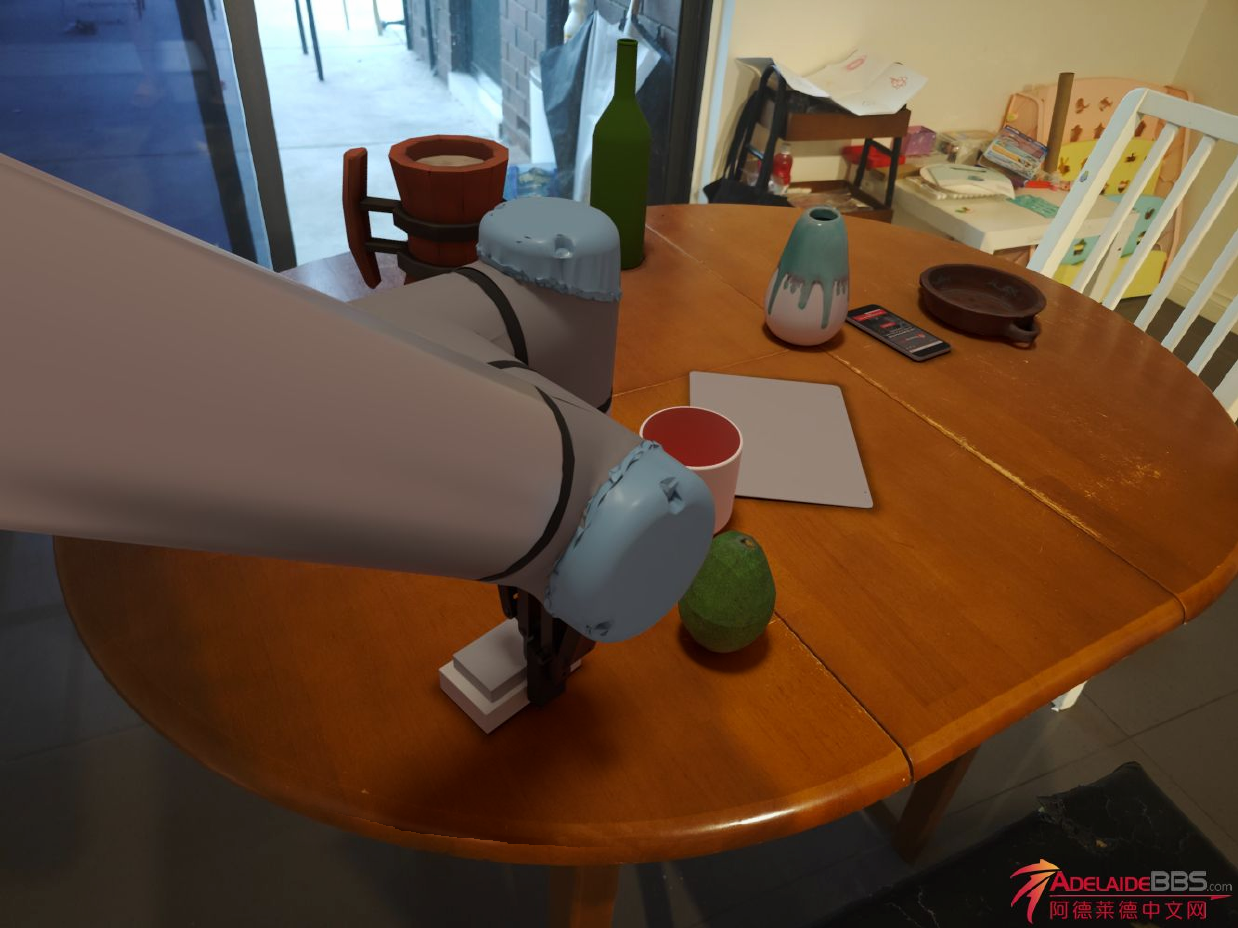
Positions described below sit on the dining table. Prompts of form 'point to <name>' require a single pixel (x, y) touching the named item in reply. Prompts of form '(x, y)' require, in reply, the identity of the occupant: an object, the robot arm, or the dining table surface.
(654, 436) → the cup
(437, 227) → the tankard
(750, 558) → the fruit
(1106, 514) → the dining table surface
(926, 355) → the smartphone
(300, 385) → the robot arm
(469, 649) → the stepped grey block
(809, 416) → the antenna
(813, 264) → the vase
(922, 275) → the dish
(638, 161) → the wine bottle
